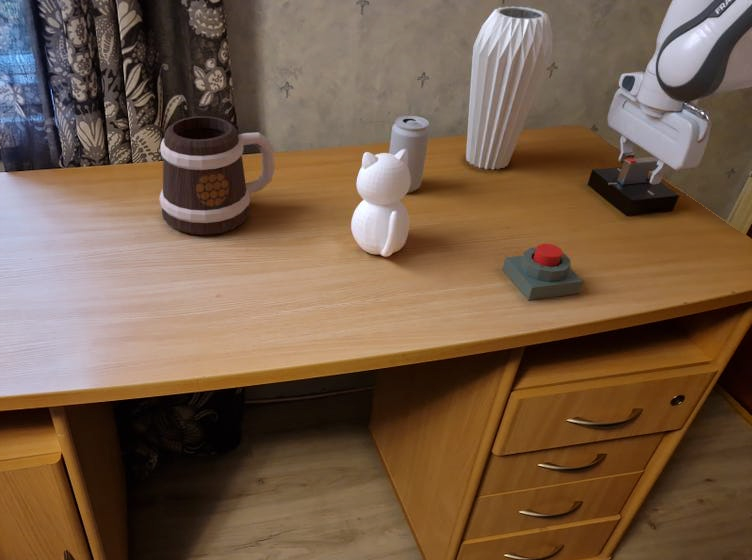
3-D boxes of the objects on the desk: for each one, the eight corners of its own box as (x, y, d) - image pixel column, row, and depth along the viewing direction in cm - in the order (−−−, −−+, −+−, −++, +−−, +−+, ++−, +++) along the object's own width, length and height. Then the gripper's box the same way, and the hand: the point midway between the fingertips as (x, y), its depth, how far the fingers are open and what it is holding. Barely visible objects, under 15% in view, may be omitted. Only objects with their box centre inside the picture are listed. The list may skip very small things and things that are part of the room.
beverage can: (407, 175, 126) (416, 111, 118) (427, 190, 122) (438, 124, 114) (378, 182, 124) (385, 117, 116) (397, 197, 120) (407, 131, 112)
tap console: (675, 210, 117) (683, 194, 115) (623, 216, 115) (629, 199, 113) (633, 180, 126) (639, 163, 123) (584, 184, 124) (589, 168, 122)
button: (564, 265, 97) (567, 255, 95) (541, 268, 96) (544, 258, 95) (551, 252, 99) (554, 242, 98) (528, 255, 99) (531, 244, 97)
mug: (176, 245, 107) (167, 155, 97) (150, 203, 117) (140, 117, 107) (291, 222, 113) (294, 134, 103) (257, 183, 123) (257, 100, 113)
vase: (437, 158, 132) (463, 10, 115) (481, 141, 138) (512, -2, 121) (493, 182, 124) (529, 28, 107) (536, 163, 130) (578, 14, 113)
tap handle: (647, 178, 119) (656, 155, 117) (652, 182, 118) (662, 159, 115) (616, 181, 118) (625, 158, 116) (622, 185, 117) (630, 162, 114)
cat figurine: (392, 224, 112) (405, 136, 103) (421, 265, 103) (437, 172, 93) (340, 230, 111) (348, 141, 101) (364, 271, 102) (375, 178, 92)
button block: (578, 293, 98) (587, 270, 95) (528, 300, 96) (535, 276, 94) (550, 264, 104) (557, 241, 101) (502, 270, 102) (508, 247, 100)
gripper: (733, 113, 101) (694, 198, 110) (647, 69, 116) (620, 147, 125) (696, 116, 100) (660, 202, 109) (614, 71, 115) (589, 149, 124)
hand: (638, 172), depth 117 cm, fingers open, 6 cm apart
